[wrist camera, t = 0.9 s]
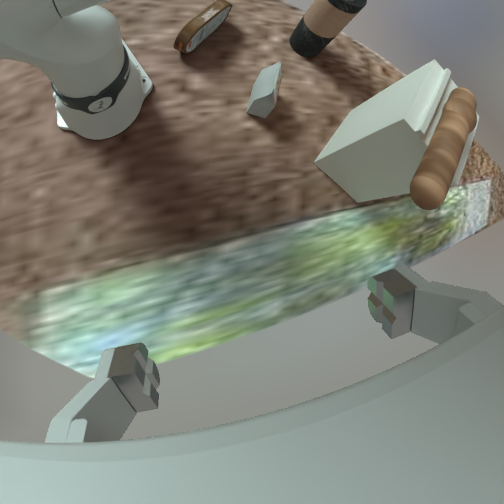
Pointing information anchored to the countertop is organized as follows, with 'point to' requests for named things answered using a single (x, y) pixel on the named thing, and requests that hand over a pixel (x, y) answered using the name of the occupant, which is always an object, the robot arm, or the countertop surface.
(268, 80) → the small grey carton
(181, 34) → the tin
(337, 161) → the gray stand
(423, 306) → the robot arm
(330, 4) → the travel mug
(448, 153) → the wooden turned rod
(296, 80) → the countertop surface
